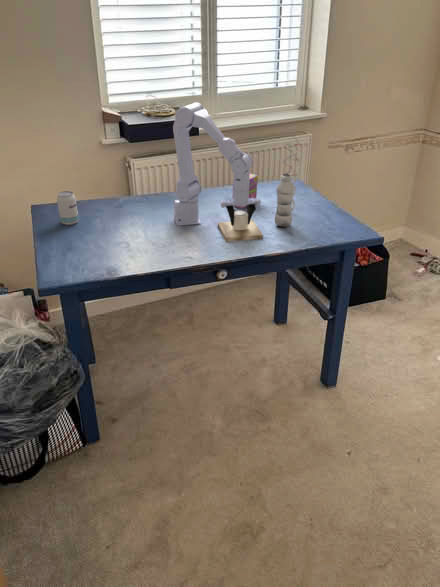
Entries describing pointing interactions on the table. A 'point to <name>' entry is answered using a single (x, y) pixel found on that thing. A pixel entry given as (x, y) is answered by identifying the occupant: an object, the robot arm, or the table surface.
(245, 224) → the cap
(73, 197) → the beverage can
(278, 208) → the plastic bottle
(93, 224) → the table surface
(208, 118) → the robot arm
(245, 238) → the stud base
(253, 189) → the box
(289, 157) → the dna model
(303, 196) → the table surface
